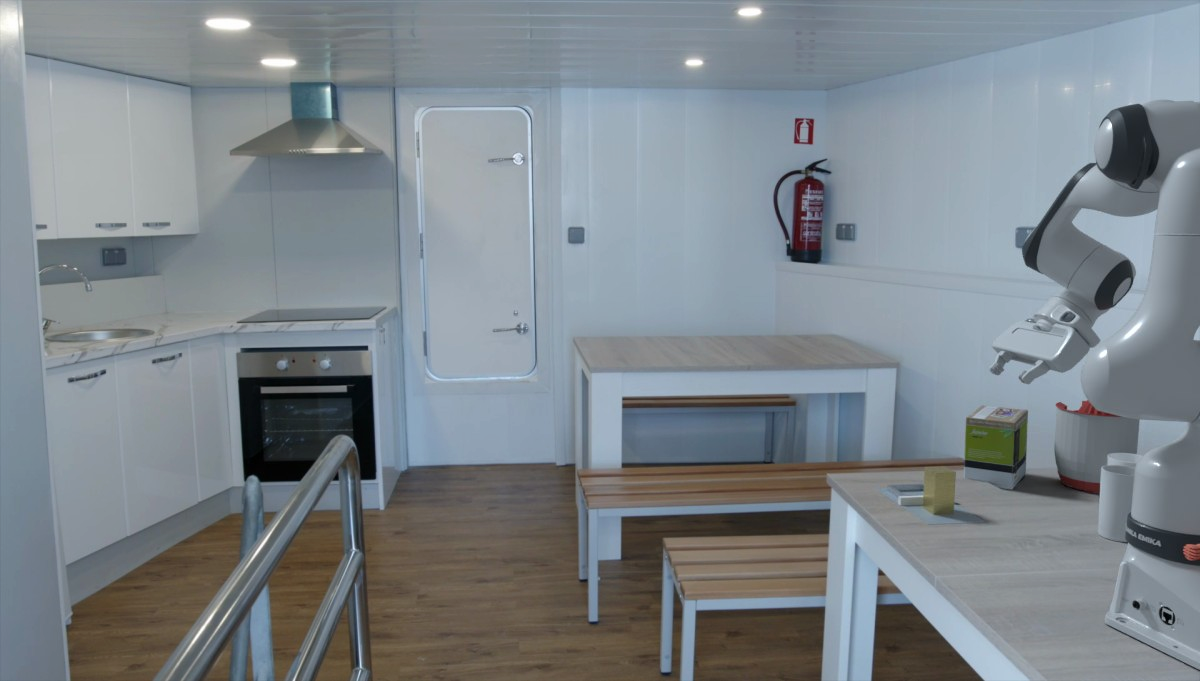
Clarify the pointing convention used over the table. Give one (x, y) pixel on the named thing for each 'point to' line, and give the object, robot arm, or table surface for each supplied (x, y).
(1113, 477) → the mug
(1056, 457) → the citrus juicer
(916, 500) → the plate
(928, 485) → the block
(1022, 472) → the tea box
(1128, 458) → the white cup
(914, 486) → the frame
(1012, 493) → the table surface
